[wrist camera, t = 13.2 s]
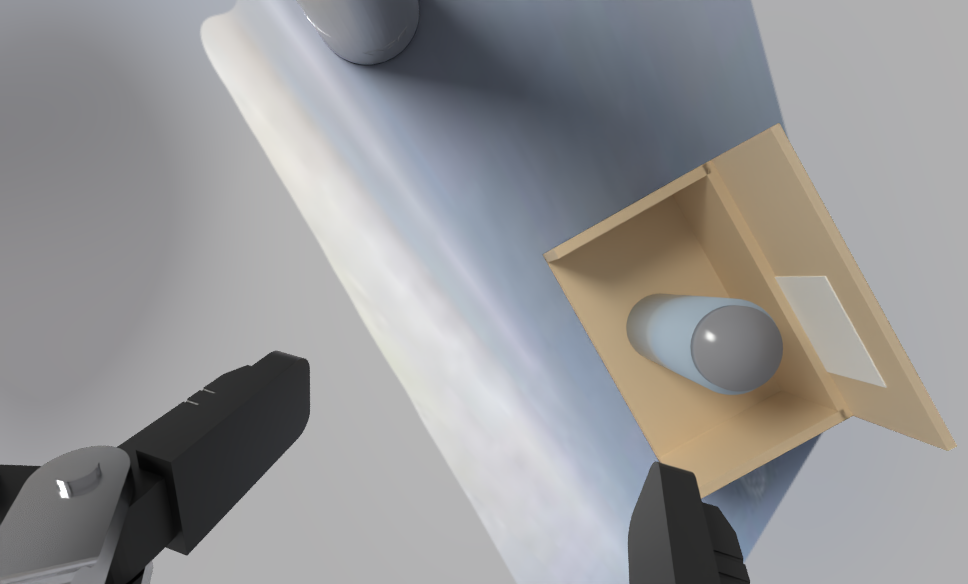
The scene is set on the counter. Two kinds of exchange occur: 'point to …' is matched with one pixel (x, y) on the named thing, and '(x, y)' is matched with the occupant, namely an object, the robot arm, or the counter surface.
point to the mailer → (761, 280)
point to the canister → (707, 340)
